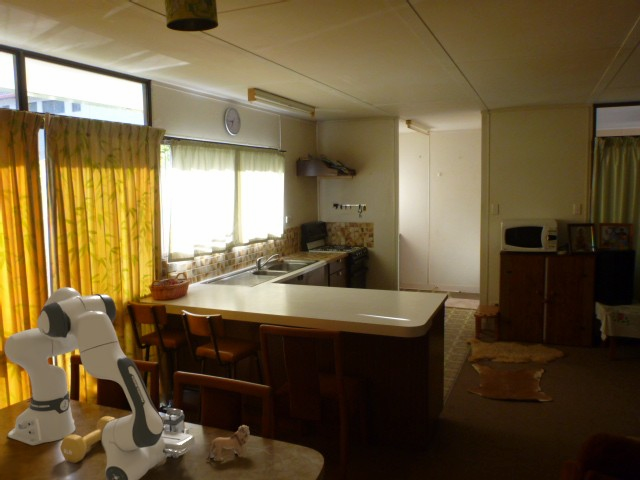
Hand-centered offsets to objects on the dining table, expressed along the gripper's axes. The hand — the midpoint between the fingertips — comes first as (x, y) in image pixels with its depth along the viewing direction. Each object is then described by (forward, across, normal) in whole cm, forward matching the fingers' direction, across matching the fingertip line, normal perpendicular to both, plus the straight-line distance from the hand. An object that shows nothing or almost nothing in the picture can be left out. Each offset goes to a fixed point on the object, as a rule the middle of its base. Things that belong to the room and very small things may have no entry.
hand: (176, 429), depth 173 cm
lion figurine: (+3, -18, +8) cm, 20 cm away
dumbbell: (-6, +29, +8) cm, 31 cm away
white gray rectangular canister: (-1, 0, +8) cm, 8 cm away
